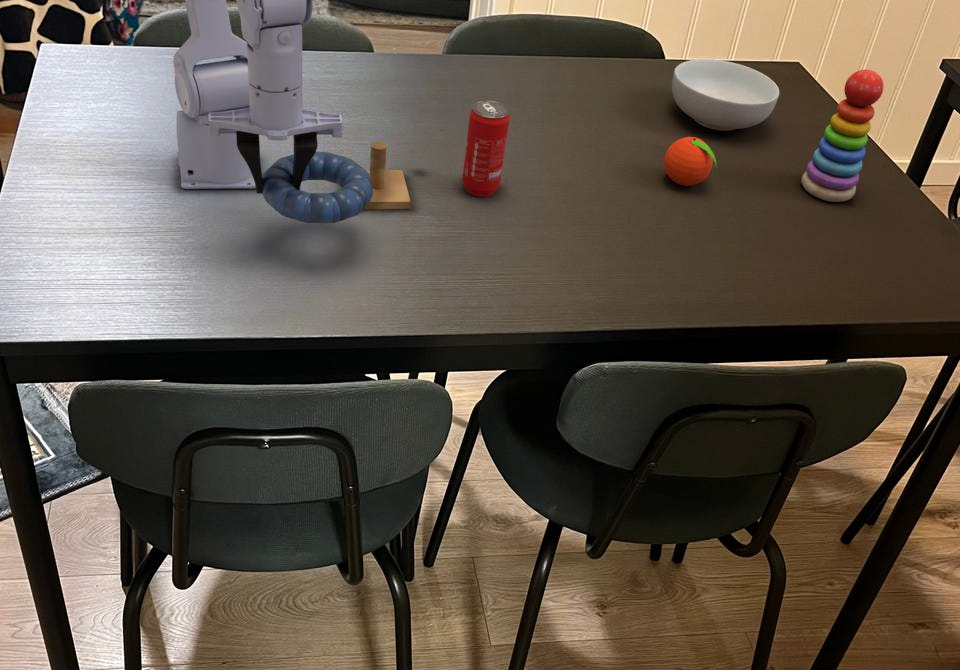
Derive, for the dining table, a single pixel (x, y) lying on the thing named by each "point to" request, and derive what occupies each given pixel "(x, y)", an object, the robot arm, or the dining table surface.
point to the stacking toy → (844, 141)
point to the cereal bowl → (723, 94)
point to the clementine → (688, 161)
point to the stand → (386, 182)
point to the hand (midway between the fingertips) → (277, 188)
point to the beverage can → (485, 148)
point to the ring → (318, 204)
